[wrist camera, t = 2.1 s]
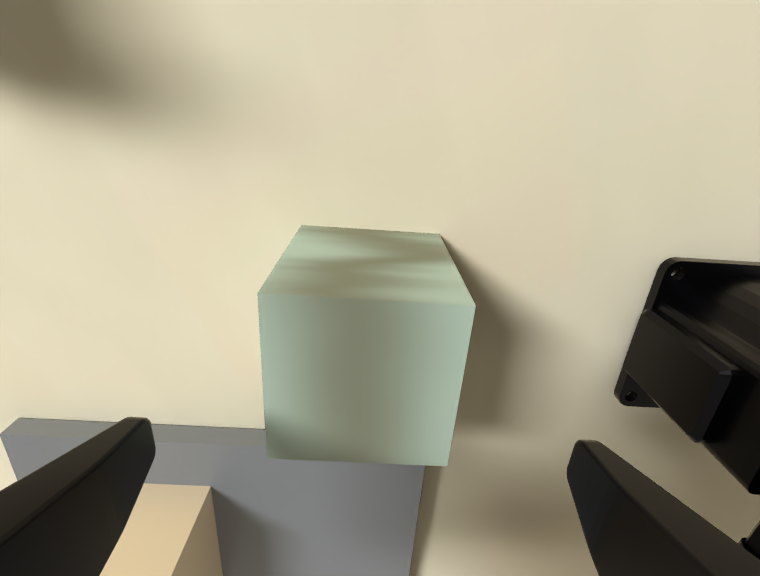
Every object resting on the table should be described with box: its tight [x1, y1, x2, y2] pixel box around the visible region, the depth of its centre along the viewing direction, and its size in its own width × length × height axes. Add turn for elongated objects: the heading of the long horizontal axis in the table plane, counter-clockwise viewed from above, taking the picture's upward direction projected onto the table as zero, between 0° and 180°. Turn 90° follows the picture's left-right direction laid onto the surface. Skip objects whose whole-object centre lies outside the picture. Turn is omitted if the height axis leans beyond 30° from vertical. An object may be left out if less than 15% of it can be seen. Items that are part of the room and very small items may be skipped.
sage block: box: [258, 225, 476, 466], centre depth 13 cm, size 5×5×6 cm
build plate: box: [0, 418, 425, 576], centre depth 18 cm, size 18×12×5 cm, turn 86°
